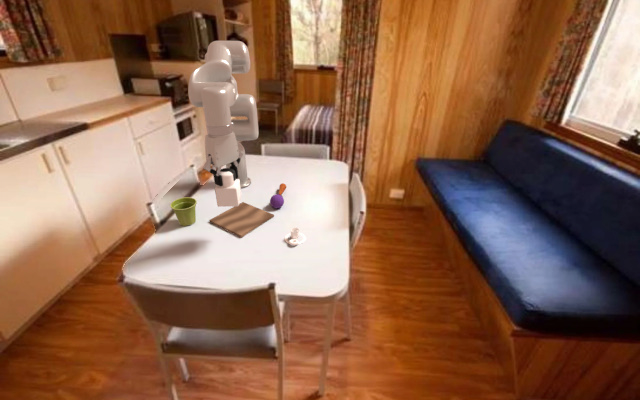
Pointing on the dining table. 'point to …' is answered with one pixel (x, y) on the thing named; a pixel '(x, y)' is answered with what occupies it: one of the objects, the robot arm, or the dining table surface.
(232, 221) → the walnut board
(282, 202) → the purple maraca
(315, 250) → the dining table surface
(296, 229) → the white rounded piece
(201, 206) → the dining table surface
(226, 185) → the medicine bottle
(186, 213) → the plant pot
